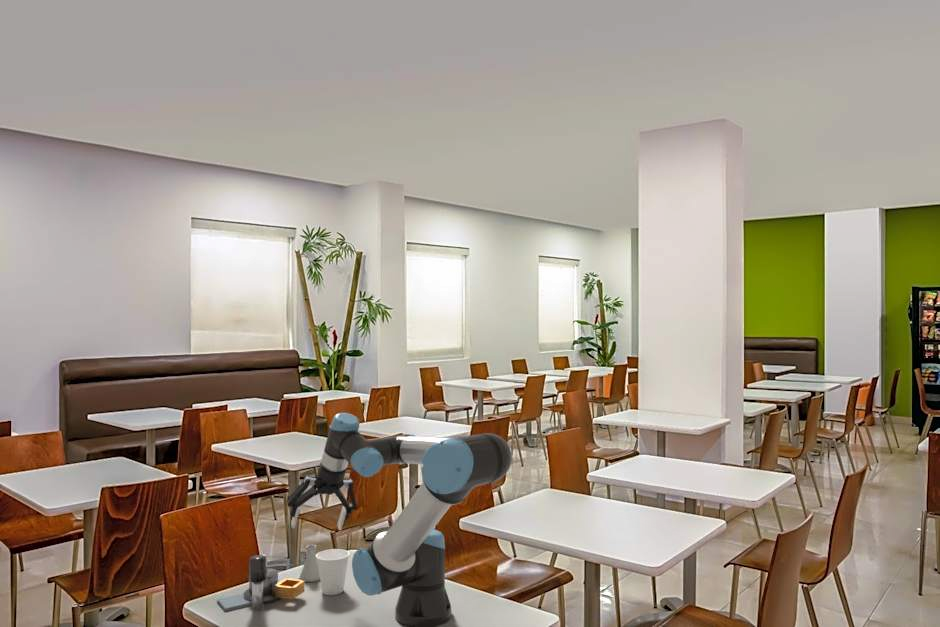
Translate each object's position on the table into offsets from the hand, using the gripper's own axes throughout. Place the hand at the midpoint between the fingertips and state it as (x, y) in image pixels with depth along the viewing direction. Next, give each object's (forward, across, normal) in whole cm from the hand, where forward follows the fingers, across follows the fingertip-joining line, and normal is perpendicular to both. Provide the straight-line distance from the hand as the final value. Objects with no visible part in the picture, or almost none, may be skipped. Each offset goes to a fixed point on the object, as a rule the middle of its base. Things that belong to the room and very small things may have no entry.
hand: (316, 526), depth 205 cm
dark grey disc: (+23, +11, +4) cm, 25 cm away
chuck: (+20, +8, +5) cm, 22 cm away
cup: (+18, -8, +6) cm, 21 cm away
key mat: (+23, +18, +6) cm, 30 cm away
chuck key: (+20, +13, +11) cm, 26 cm away
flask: (+24, -5, -6) cm, 25 cm away
